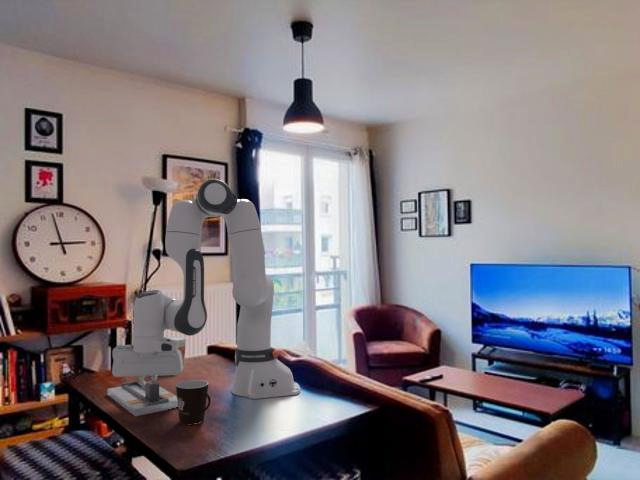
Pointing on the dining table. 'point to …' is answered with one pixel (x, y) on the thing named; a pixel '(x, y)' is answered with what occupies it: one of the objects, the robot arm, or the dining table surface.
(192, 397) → the coffee mug
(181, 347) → the coffee cup
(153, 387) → the fader knob
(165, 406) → the console
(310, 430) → the dining table surface
